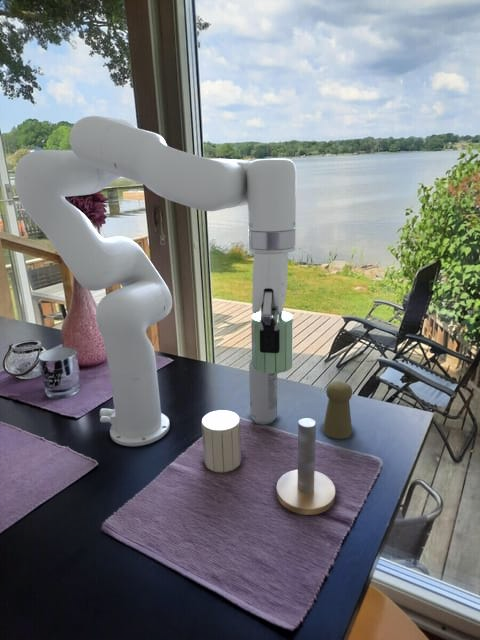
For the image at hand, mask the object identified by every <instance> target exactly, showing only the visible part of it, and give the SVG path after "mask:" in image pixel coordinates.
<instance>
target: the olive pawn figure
mask: <svg viewBox="0 0 480 640" xmlns="http://www.w3.org/2000/svg"><path fill="white" fill-rule="evenodd" d="M326 386H327V387H326V390H325V393H326V396H327V398H328V399H327V405H326V409H325V416H324V421H323V426H322V432H323V434H324V435H325V436H327V437H328V438H332V439H335V440H344V439H347V438H350V437H351V435H352V434H353V428H352V427H353V426H352V416H351V406H350V405H351V404H350V400H351V399H352V396H353V388H352V386H351V385H350V384H349V383H348V382H346V381H343V380H335V381H331V382H329V383H328V385H326Z"/></svg>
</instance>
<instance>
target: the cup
mask: <svg viewBox="0 0 480 640" xmlns="http://www.w3.org/2000/svg"><path fill="white" fill-rule="evenodd" d="M201 435H202V437H201V438H202V449H203V463H204V465H205V467H206V468H207V469H208V470H210V471H212V472H214V473H227V472H231V471H234V470H235V469H237V468H238V467H239V466H240V465H241V462H242V437H241V435H242V434H241V419H240V416H239V415H238V414H237V413H236V412H234V411H231V410H226V409H218V410H213V411H210V412H208V413H207V414H205V415H204V416H203V417H202V419H201Z"/></svg>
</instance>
